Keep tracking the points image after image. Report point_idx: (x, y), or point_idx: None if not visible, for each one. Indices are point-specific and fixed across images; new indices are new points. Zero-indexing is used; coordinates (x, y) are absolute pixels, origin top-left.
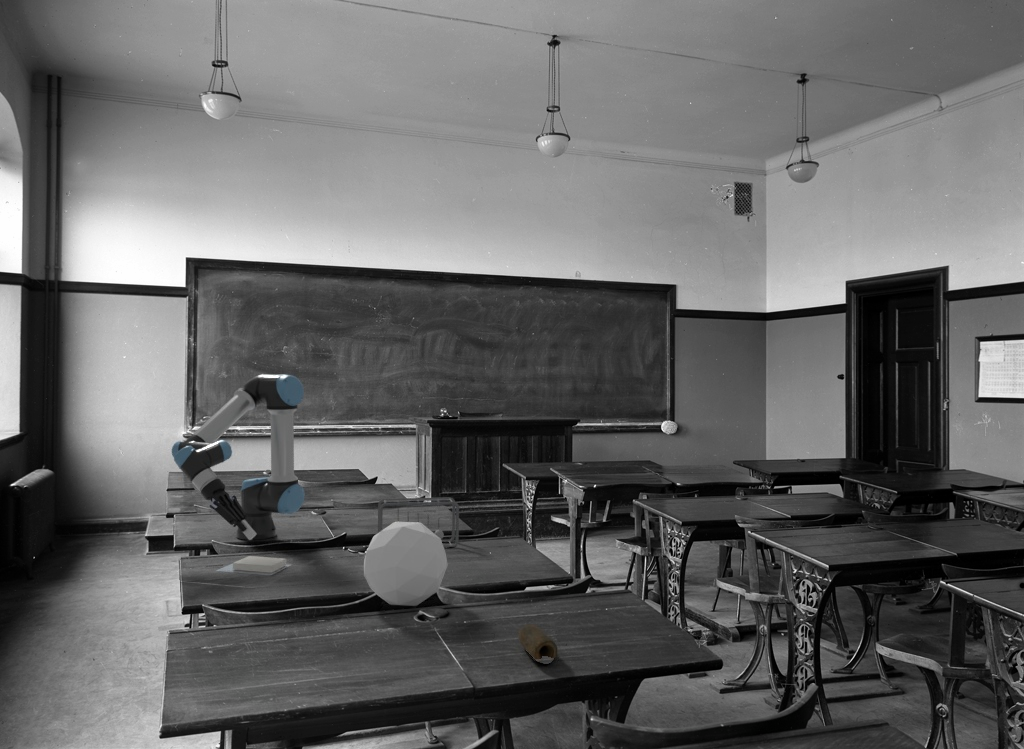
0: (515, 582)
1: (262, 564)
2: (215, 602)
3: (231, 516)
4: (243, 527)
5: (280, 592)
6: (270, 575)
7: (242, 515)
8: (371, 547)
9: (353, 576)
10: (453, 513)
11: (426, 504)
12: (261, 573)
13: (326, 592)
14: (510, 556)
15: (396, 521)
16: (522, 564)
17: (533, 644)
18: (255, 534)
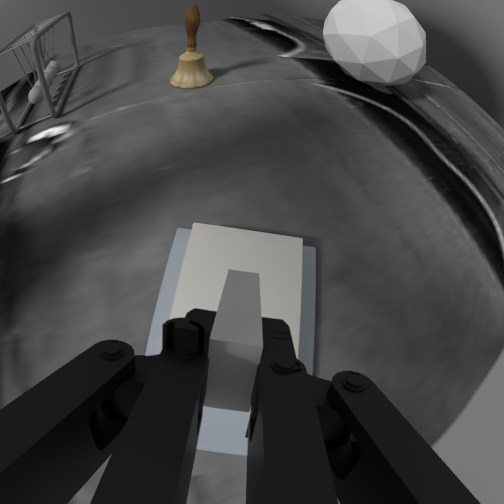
0: (249, 30)
1: (291, 273)
2: (497, 286)
3: (403, 417)
4: (288, 331)
5: (411, 195)
6: (315, 248)
7: (160, 377)
8: (422, 39)
9: (260, 108)
10: (40, 42)
11: (59, 20)
12: (303, 281)
13: (372, 133)
14: (138, 36)
15: (190, 4)
16: (175, 29)
17: (426, 56)
18: (246, 272)
